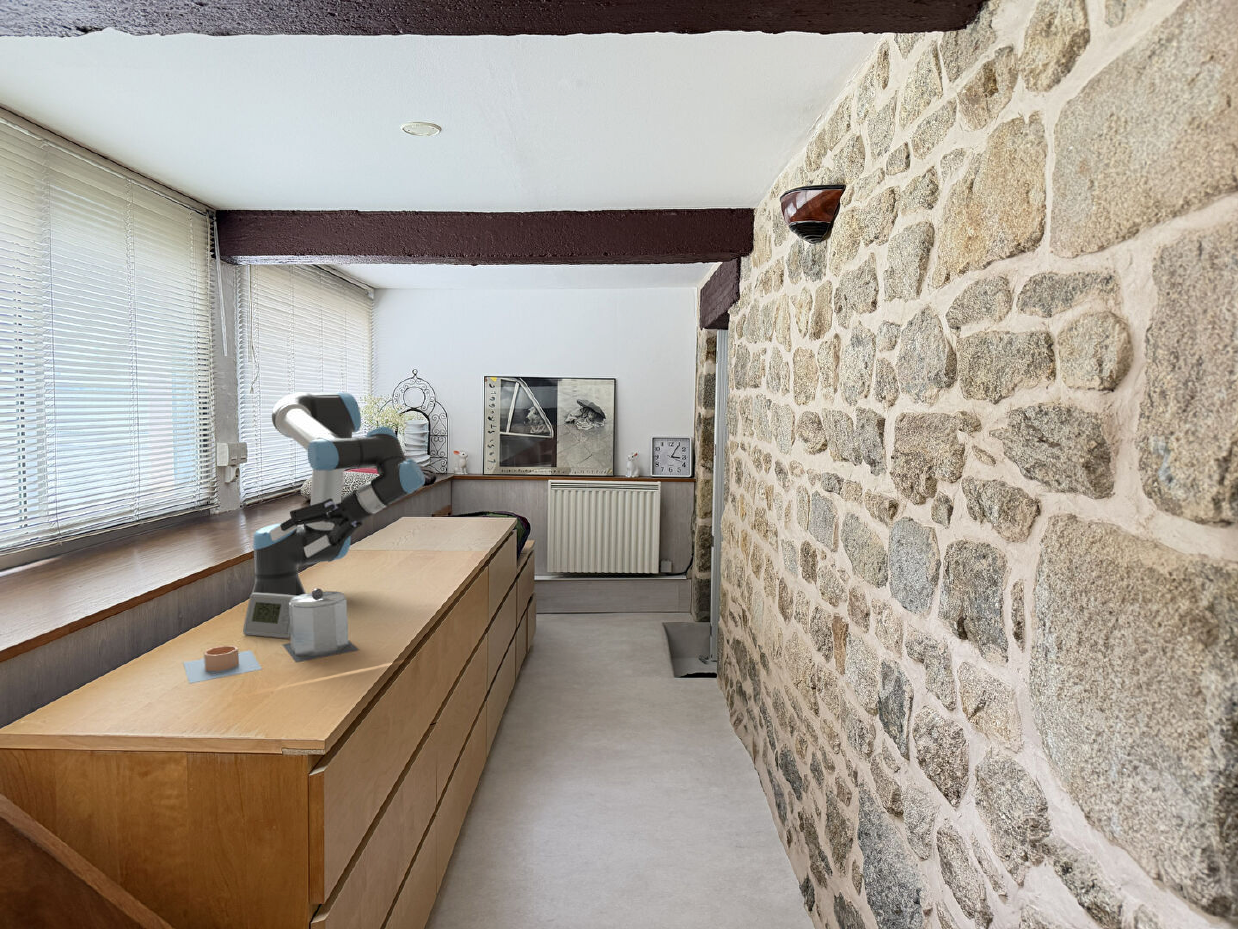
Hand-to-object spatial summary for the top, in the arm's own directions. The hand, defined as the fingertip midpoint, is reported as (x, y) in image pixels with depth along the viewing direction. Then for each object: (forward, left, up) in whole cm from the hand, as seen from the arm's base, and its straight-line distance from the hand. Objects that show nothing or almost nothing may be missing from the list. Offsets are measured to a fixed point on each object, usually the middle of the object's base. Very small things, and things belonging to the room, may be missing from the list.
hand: (289, 544), depth 184 cm
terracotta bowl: (+10, -17, -24) cm, 31 cm away
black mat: (+10, +4, -25) cm, 27 cm away
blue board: (+10, -17, -25) cm, 32 cm away
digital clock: (-9, -3, -25) cm, 27 cm away
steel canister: (+10, +4, -24) cm, 26 cm away
